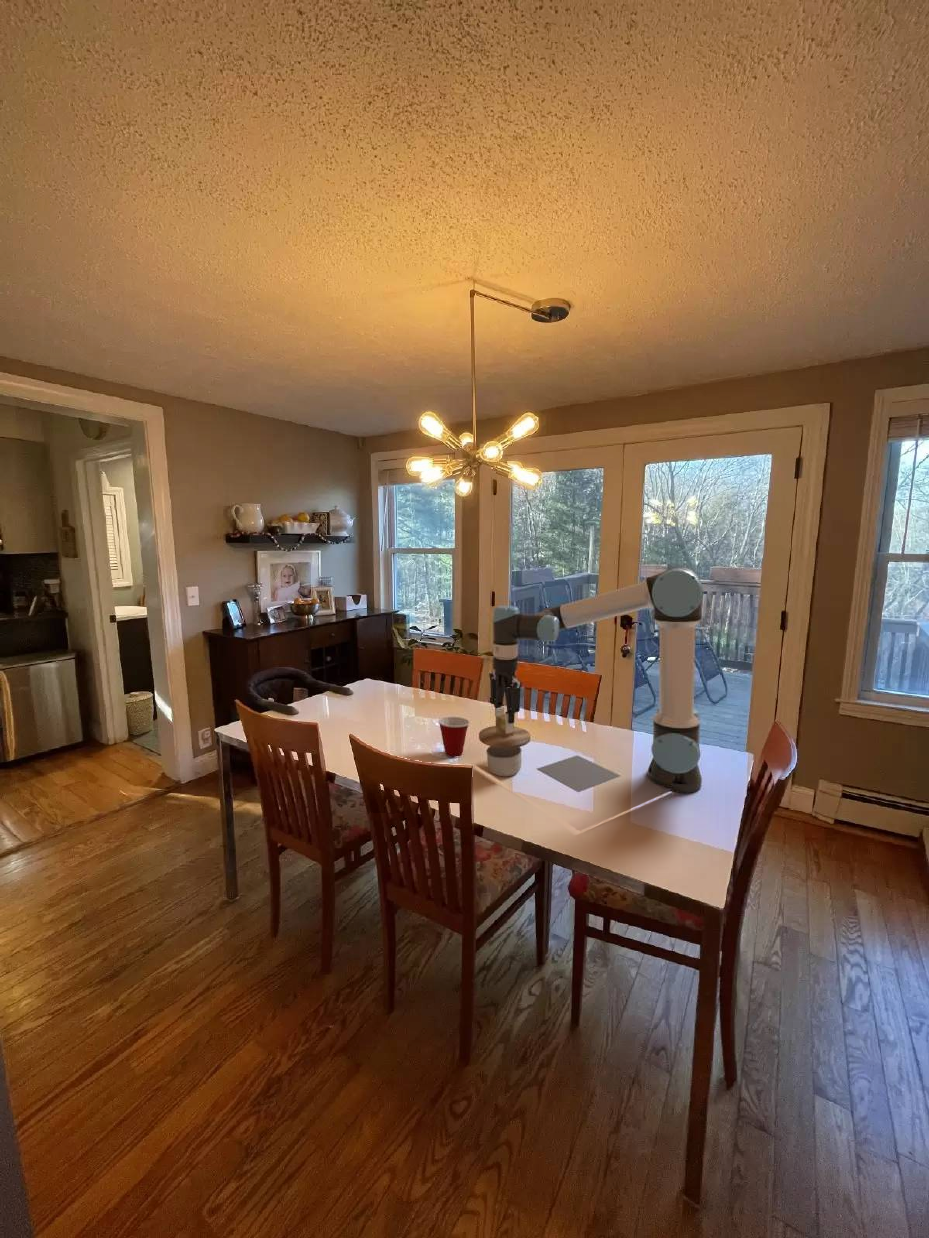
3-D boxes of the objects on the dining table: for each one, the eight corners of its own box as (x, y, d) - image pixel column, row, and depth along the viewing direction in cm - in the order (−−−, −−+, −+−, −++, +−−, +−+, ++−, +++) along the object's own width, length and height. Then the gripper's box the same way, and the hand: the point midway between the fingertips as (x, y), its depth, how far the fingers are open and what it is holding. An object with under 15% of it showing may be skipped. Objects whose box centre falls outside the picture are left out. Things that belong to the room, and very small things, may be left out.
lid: (541, 740, 159) (541, 718, 158) (499, 752, 150) (499, 729, 149) (508, 724, 172) (508, 704, 171) (468, 735, 163) (468, 713, 162)
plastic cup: (476, 753, 176) (476, 719, 174) (454, 763, 168) (454, 728, 166) (454, 744, 183) (453, 712, 181) (431, 754, 176) (431, 720, 174)
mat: (620, 778, 157) (620, 775, 157) (578, 795, 147) (578, 791, 147) (577, 758, 172) (577, 755, 172) (536, 771, 162) (536, 768, 162)
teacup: (519, 782, 155) (519, 757, 154) (483, 779, 157) (483, 754, 156) (523, 763, 168) (524, 739, 167) (490, 760, 170) (490, 737, 169)
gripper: (479, 653, 162) (478, 724, 165) (513, 664, 148) (512, 741, 151) (498, 650, 166) (497, 719, 170) (533, 660, 152) (531, 736, 156)
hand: (504, 729), depth 160 cm, fingers closed on lid, 4 cm apart
